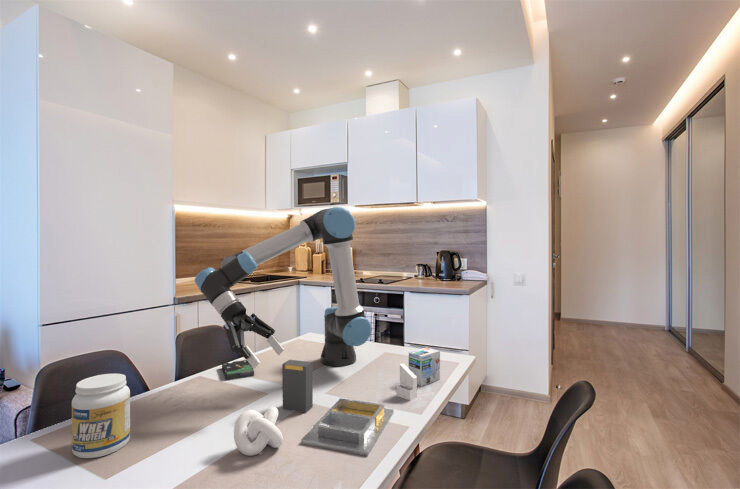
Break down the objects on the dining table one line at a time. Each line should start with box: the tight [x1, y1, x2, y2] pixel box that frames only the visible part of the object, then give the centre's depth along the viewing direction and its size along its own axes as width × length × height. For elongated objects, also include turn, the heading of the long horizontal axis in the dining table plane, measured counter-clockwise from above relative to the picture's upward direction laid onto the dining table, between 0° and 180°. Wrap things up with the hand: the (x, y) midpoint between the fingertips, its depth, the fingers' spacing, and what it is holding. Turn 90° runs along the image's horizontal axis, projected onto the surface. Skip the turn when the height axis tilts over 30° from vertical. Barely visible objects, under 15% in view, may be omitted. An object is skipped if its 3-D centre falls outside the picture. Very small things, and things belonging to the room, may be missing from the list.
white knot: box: [233, 406, 284, 457], centre depth 97 cm, size 11×12×9 cm
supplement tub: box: [71, 372, 131, 459], centre depth 97 cm, size 12×12×17 cm
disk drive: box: [221, 359, 255, 381], centre depth 151 cm, size 10×3×15 cm
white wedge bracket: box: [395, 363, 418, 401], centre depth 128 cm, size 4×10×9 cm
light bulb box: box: [408, 346, 441, 387], centre depth 141 cm, size 11×7×11 cm, turn 131°
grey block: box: [281, 359, 314, 414], centre depth 119 cm, size 4×8×14 cm, turn 72°
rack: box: [300, 397, 395, 457], centre depth 107 cm, size 24×18×4 cm
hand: (269, 358), depth 121 cm, fingers open, 13 cm apart
